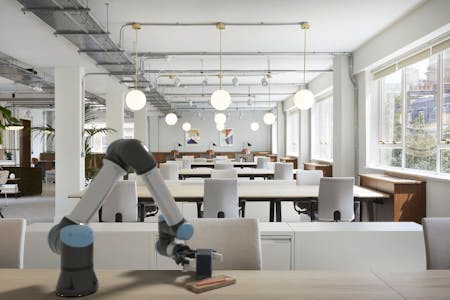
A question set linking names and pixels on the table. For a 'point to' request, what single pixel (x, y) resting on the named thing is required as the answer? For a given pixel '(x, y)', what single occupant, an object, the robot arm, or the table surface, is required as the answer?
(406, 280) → the table surface
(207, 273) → the small box
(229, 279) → the carpenter pencil
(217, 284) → the wooden board
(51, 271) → the table surface
